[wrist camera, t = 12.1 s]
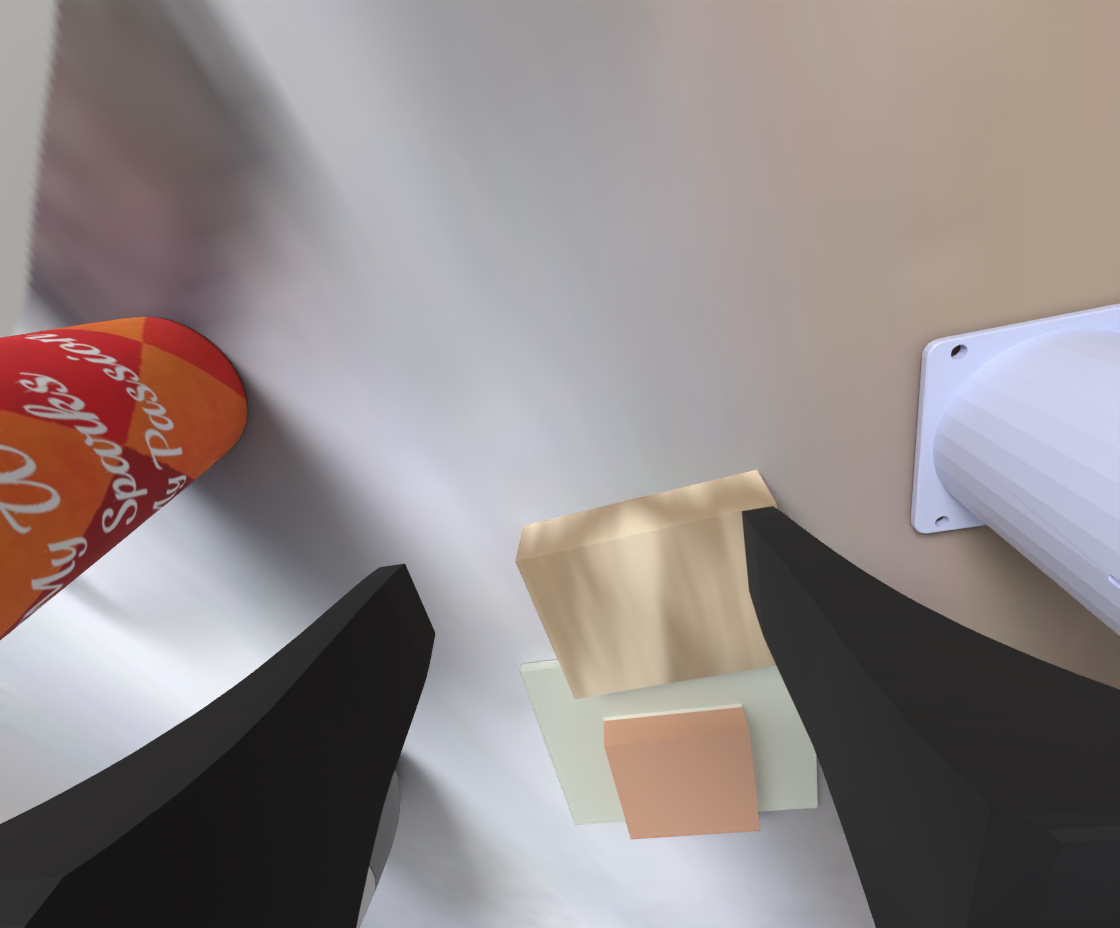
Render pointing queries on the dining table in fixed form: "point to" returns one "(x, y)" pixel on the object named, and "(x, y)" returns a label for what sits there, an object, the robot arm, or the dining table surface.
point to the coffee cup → (100, 442)
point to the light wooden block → (649, 587)
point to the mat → (580, 722)
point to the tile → (683, 771)
